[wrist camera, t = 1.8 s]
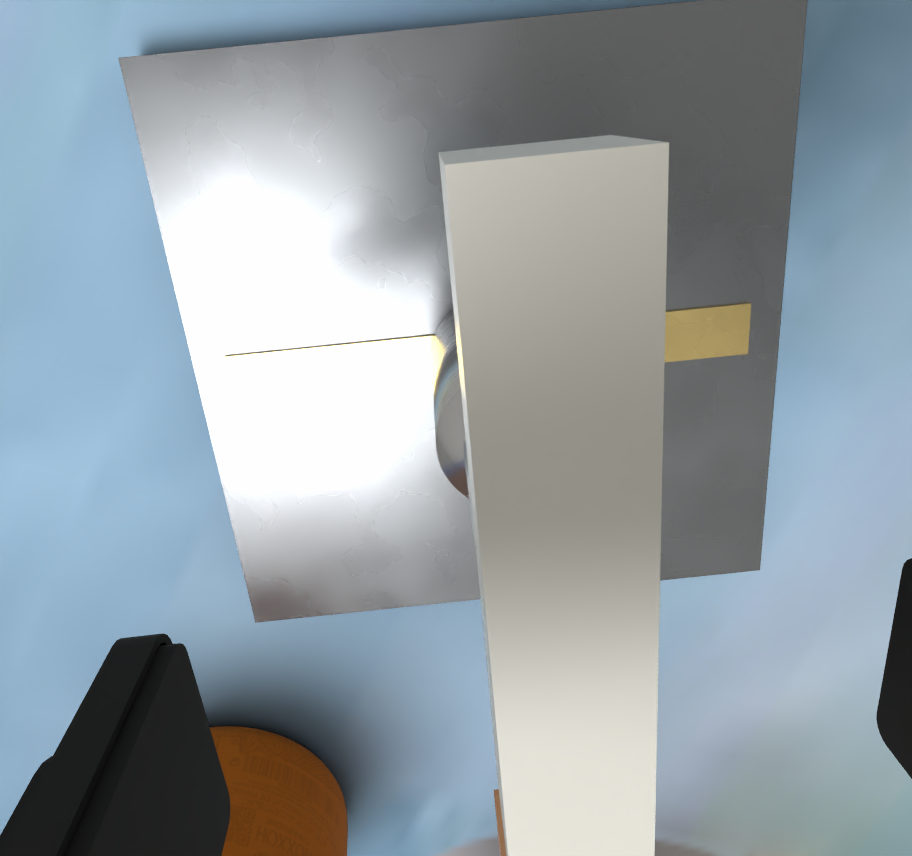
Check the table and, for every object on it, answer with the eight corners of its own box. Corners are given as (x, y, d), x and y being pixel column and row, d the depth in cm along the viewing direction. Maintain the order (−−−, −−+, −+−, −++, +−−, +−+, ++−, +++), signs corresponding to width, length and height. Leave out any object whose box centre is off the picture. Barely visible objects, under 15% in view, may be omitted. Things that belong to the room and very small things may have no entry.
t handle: (565, 128, 14) (681, 141, 8) (583, 710, 20) (658, 984, 13) (427, 141, 14) (435, 166, 8) (485, 720, 20) (515, 999, 13)
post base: (782, -3, 21) (981, -64, 13) (743, 547, 28) (859, 703, 21) (138, 61, 21) (-17, 34, 13) (263, 597, 28) (207, 772, 20)
